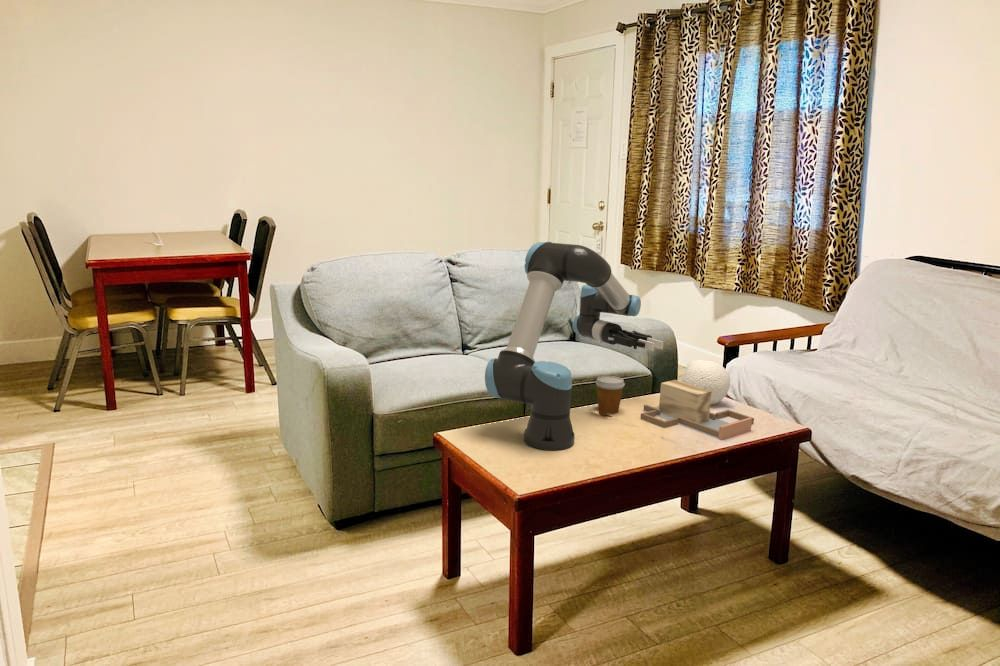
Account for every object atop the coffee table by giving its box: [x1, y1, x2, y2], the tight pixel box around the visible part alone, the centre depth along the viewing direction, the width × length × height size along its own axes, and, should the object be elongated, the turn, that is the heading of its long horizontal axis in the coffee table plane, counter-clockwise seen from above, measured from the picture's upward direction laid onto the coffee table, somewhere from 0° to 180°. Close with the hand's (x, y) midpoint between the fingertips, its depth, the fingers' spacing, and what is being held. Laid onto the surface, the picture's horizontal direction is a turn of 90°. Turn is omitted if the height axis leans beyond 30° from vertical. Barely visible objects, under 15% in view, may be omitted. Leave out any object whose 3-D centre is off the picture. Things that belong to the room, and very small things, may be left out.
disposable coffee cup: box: [595, 375, 626, 418], centre depth 253 cm, size 10×10×12 cm
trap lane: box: [639, 404, 755, 441], centre depth 247 cm, size 28×32×5 cm
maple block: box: [658, 379, 712, 424], centre depth 250 cm, size 7×15×10 cm, turn 37°
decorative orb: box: [681, 359, 731, 406], centre depth 266 cm, size 20×18×16 cm
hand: (657, 346), depth 256 cm, fingers open, 4 cm apart
